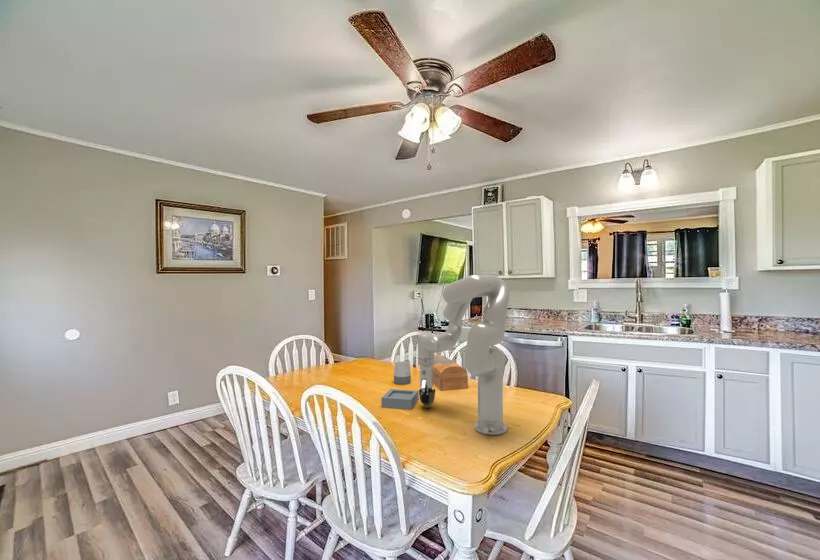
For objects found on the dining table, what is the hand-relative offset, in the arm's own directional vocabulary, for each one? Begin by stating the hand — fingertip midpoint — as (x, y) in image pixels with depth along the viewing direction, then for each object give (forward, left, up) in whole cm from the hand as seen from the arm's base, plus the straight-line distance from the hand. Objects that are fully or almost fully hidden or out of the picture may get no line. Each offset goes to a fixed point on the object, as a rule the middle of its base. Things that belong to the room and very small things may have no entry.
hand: (427, 400), depth 166 cm
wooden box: (+41, -1, -4) cm, 41 cm away
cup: (0, 0, -3) cm, 3 cm away
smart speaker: (+34, +21, -4) cm, 41 cm away
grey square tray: (+3, +13, -4) cm, 14 cm away
